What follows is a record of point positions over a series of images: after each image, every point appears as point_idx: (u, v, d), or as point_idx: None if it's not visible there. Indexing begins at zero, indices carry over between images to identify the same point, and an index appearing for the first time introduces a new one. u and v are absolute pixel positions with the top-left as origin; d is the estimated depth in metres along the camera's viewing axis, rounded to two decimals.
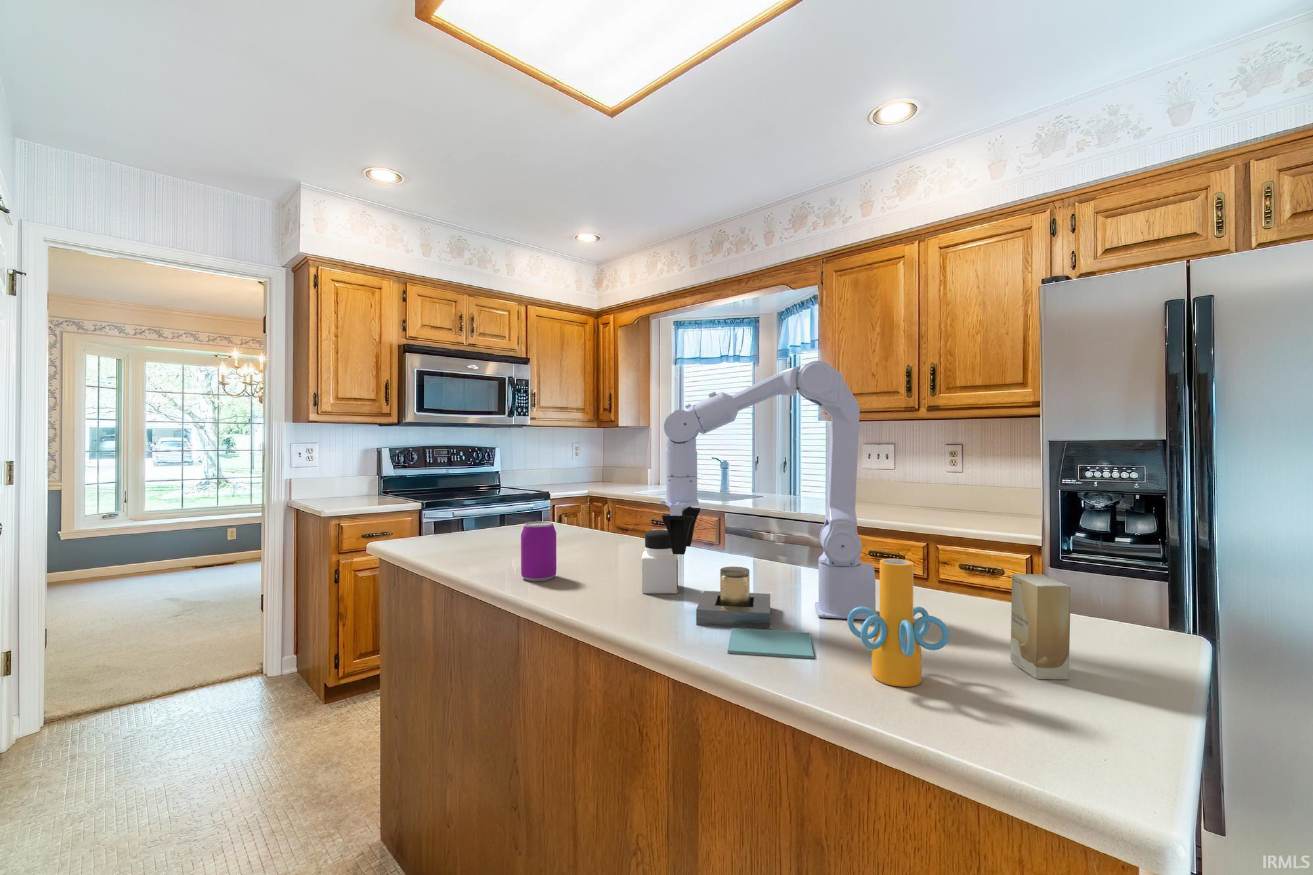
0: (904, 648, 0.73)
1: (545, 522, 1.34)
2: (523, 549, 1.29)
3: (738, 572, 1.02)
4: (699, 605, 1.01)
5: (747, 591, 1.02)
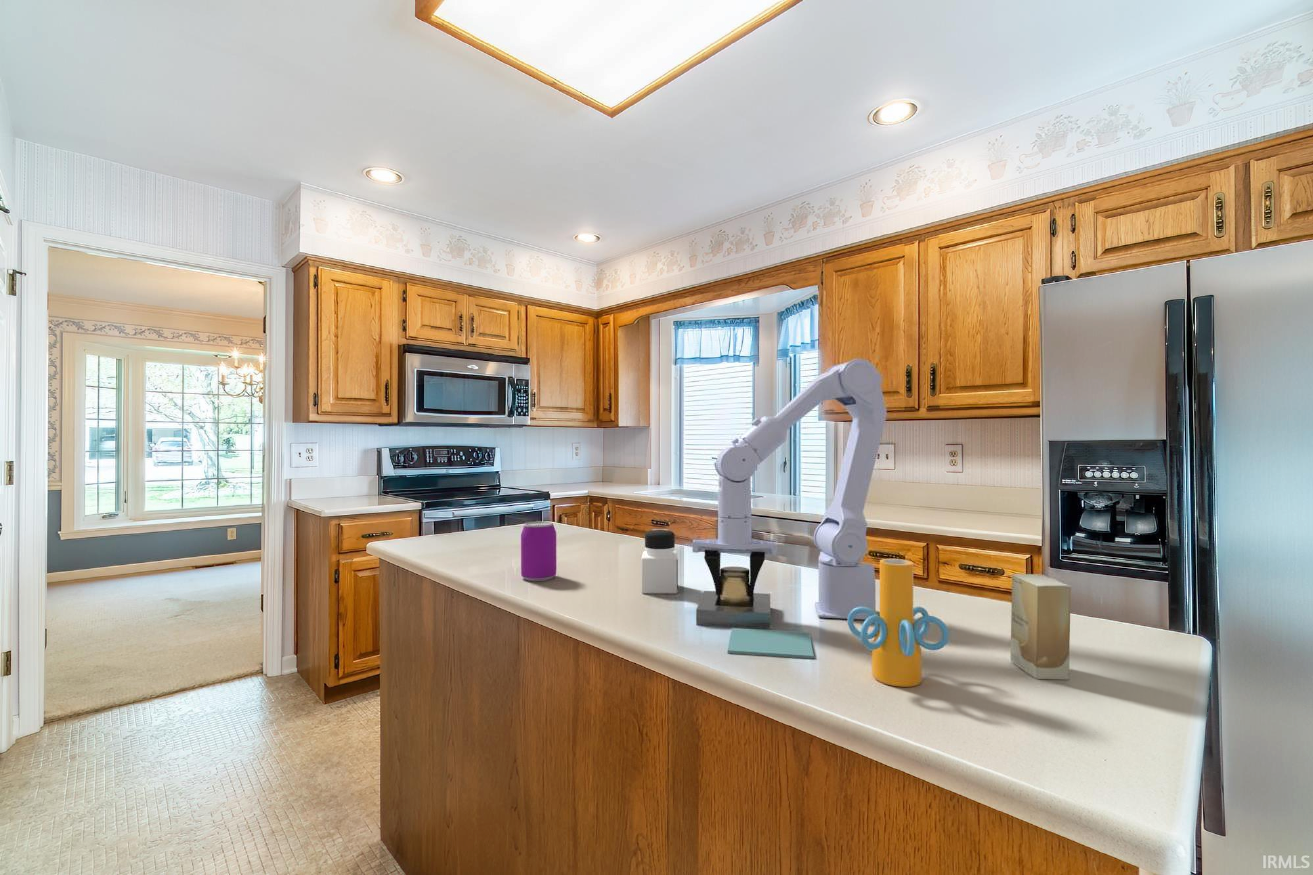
0: (904, 648, 0.73)
1: (545, 522, 1.34)
2: (523, 549, 1.29)
3: (738, 572, 1.02)
4: (699, 605, 1.01)
5: (747, 591, 1.02)
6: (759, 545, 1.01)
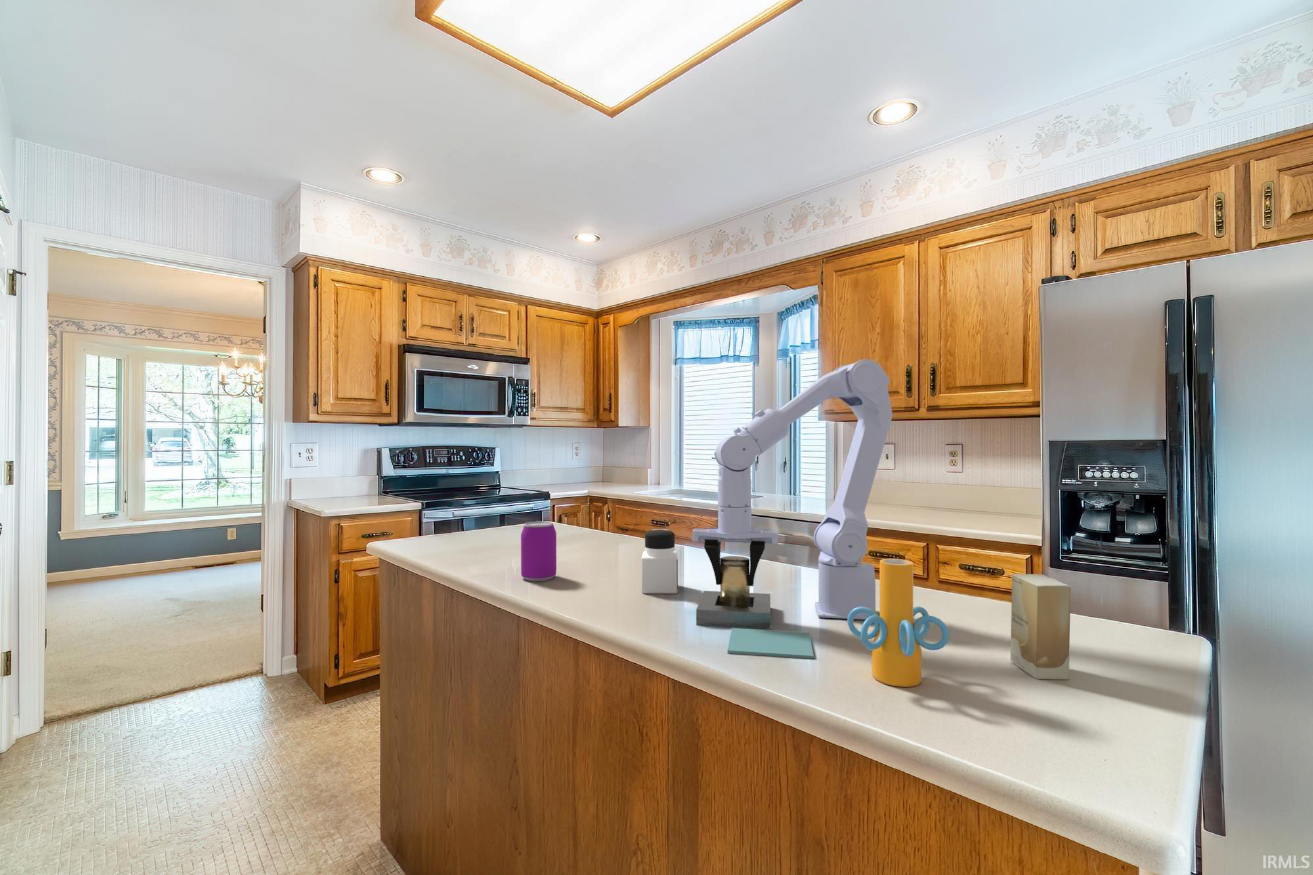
0: (904, 648, 0.73)
1: (545, 522, 1.34)
2: (523, 549, 1.29)
3: (738, 561, 1.02)
4: (699, 605, 1.01)
5: (747, 580, 1.02)
6: (759, 534, 1.01)
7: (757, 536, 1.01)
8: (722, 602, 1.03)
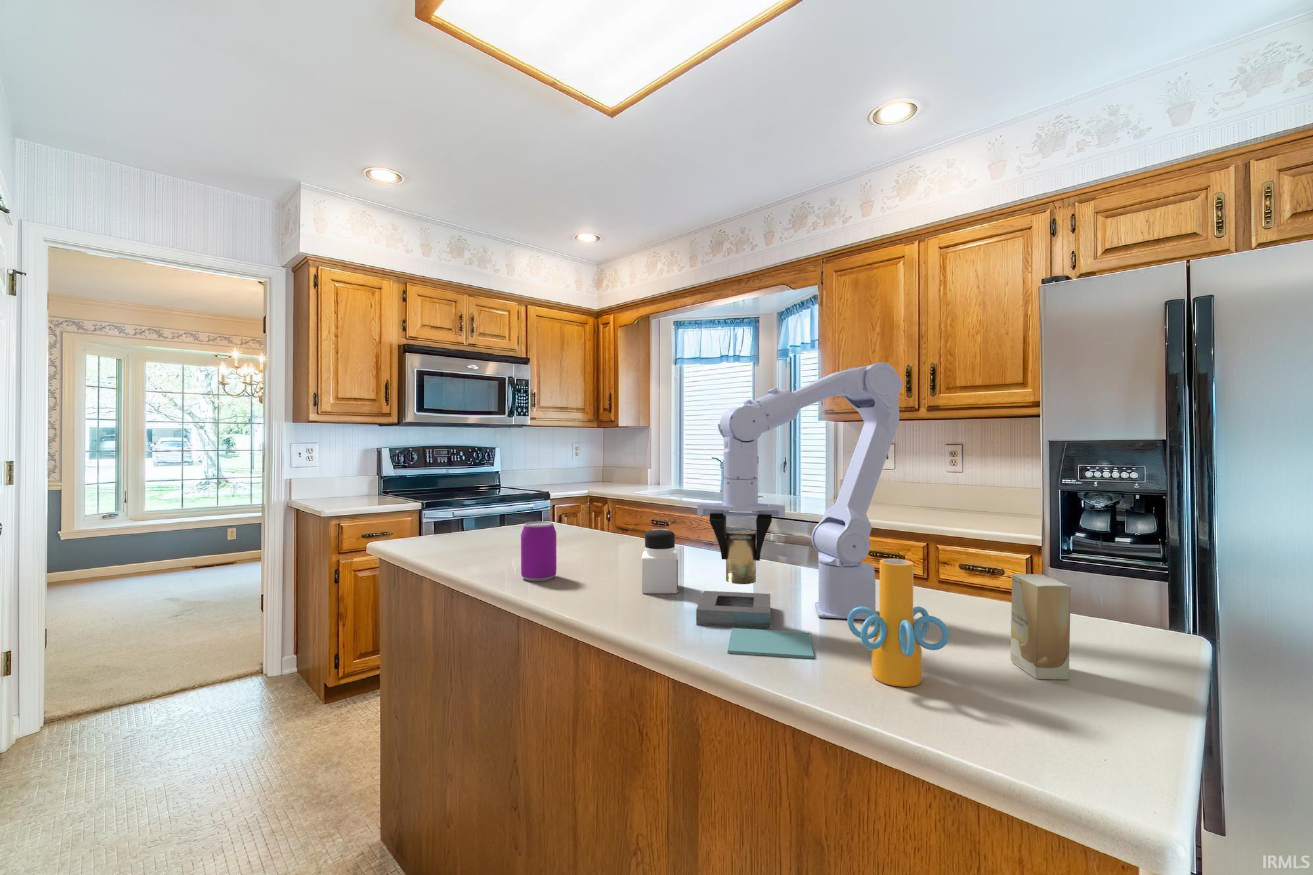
0: (904, 648, 0.73)
1: (545, 522, 1.34)
2: (523, 549, 1.29)
3: (744, 535, 0.99)
4: (699, 605, 1.01)
5: (753, 554, 0.99)
6: (766, 507, 0.98)
7: (764, 509, 0.98)
8: (728, 577, 1.00)
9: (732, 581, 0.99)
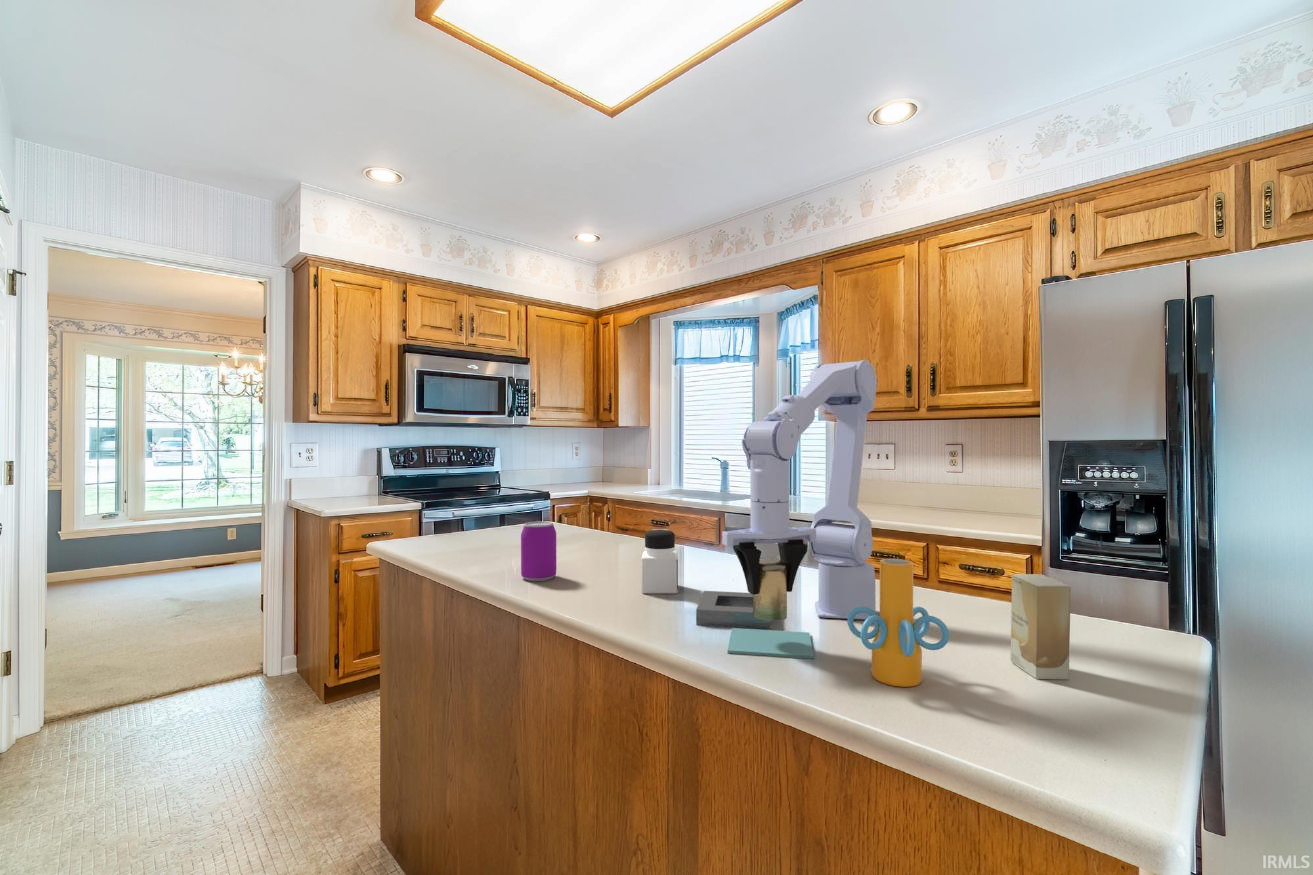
0: (904, 648, 0.73)
1: (545, 522, 1.34)
2: (523, 549, 1.29)
3: (780, 564, 0.88)
4: (699, 605, 1.01)
5: (786, 585, 0.89)
6: (800, 532, 0.89)
7: (799, 534, 0.89)
8: (761, 614, 0.88)
9: (768, 618, 0.87)
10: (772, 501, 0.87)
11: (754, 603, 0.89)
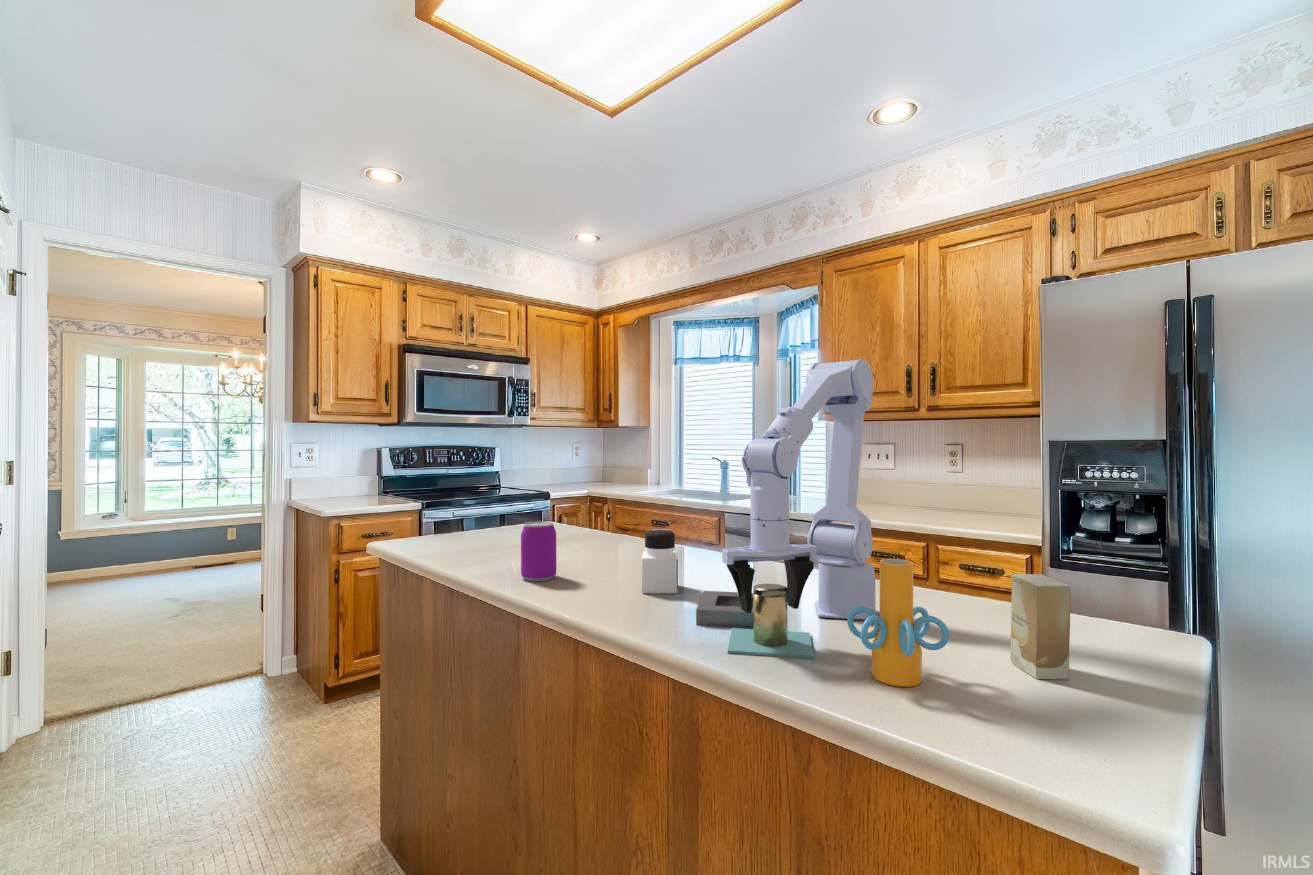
0: (904, 648, 0.73)
1: (545, 522, 1.34)
2: (523, 549, 1.29)
3: (780, 590, 0.88)
4: (699, 605, 1.01)
5: None
6: (801, 549, 0.89)
7: (799, 552, 0.89)
8: (762, 640, 0.88)
9: (769, 644, 0.87)
10: (772, 519, 0.87)
11: (755, 628, 0.89)
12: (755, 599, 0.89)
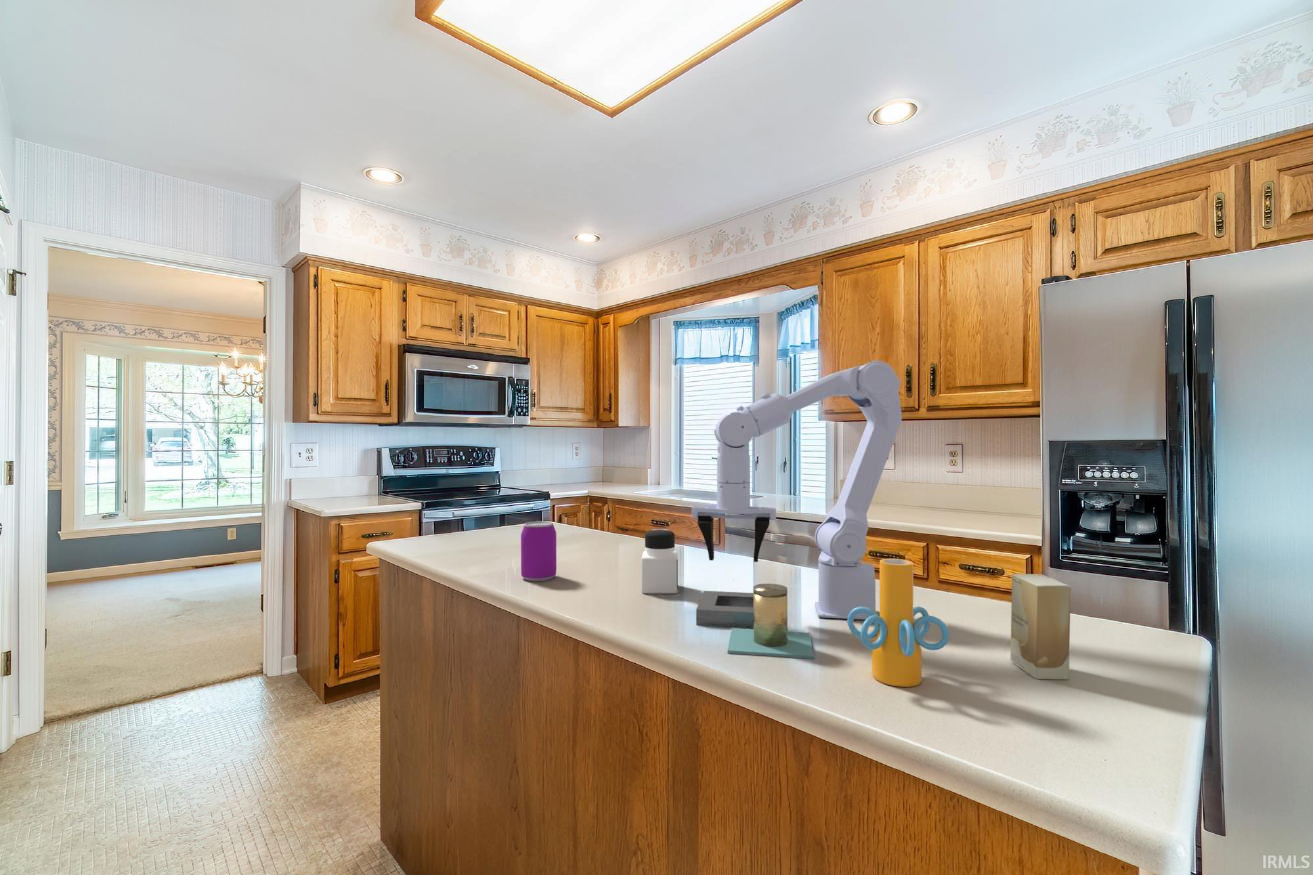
0: (904, 648, 0.73)
1: (545, 522, 1.34)
2: (523, 549, 1.29)
3: (780, 590, 0.88)
4: (699, 605, 1.01)
5: None
6: (758, 510, 1.02)
7: (756, 512, 1.02)
8: (762, 640, 0.88)
9: (769, 644, 0.87)
10: (722, 481, 1.03)
11: (755, 628, 0.89)
12: (755, 599, 0.89)
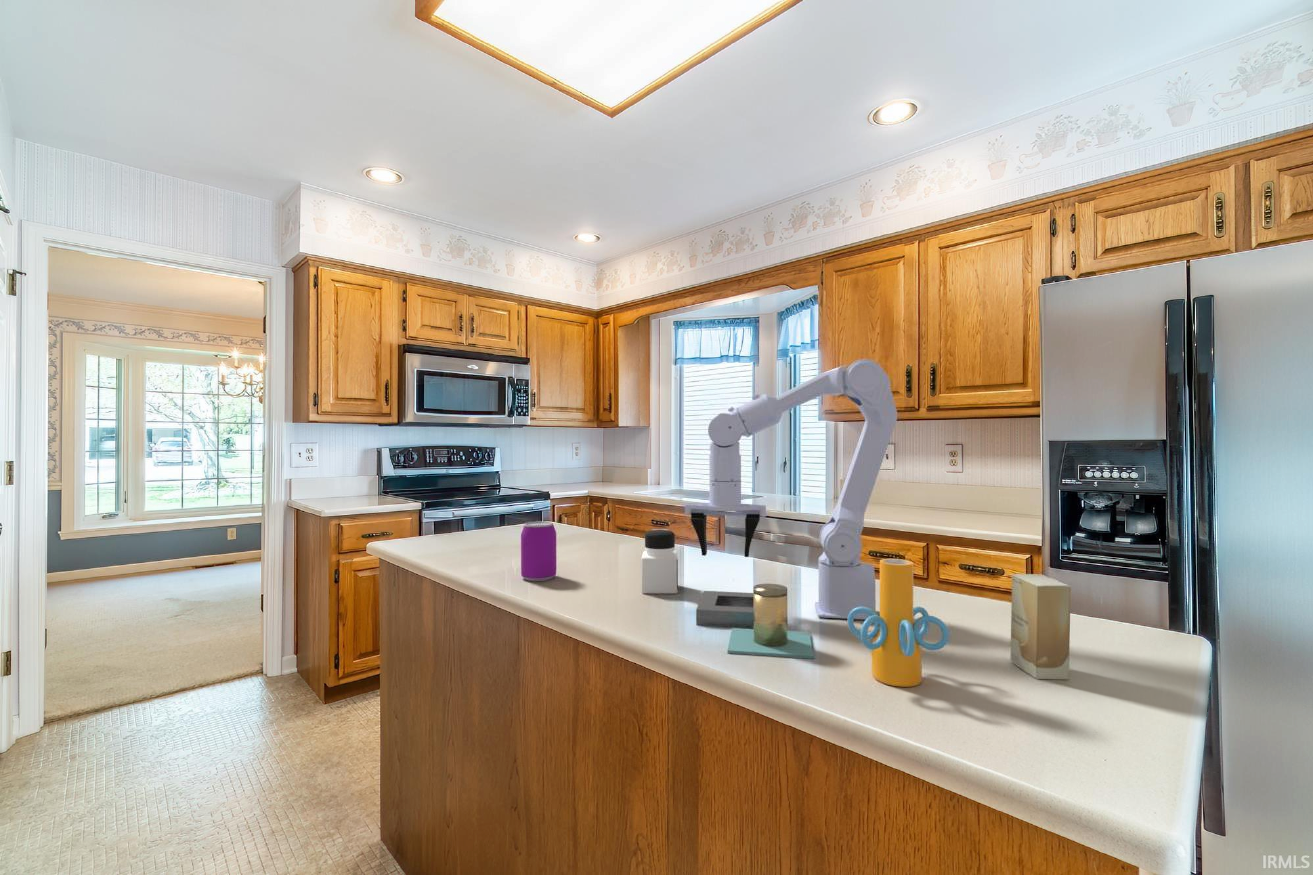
0: (904, 648, 0.73)
1: (545, 522, 1.34)
2: (523, 549, 1.29)
3: (780, 590, 0.88)
4: (699, 605, 1.01)
5: None
6: (748, 507, 1.06)
7: (746, 509, 1.06)
8: (762, 640, 0.88)
9: (769, 644, 0.87)
10: (712, 480, 1.07)
11: (755, 628, 0.89)
12: (755, 599, 0.89)
